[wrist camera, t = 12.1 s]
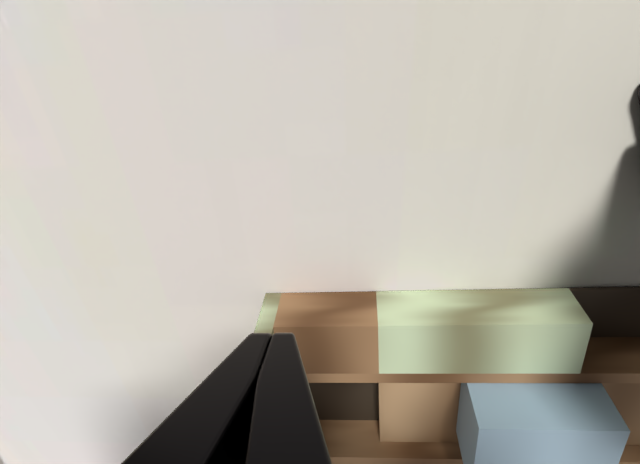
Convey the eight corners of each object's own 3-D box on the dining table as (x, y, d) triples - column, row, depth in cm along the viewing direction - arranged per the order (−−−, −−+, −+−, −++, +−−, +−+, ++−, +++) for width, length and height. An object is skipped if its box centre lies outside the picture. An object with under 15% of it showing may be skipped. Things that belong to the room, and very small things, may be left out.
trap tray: (940, 281, 20) (1062, 344, 17) (817, 463, 26) (889, 538, 23) (265, 293, 23) (249, 348, 20) (291, 454, 29) (282, 519, 26)
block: (592, 368, 22) (630, 431, 19) (574, 432, 24) (605, 498, 21) (462, 367, 22) (479, 428, 19) (456, 430, 25) (469, 494, 22)
